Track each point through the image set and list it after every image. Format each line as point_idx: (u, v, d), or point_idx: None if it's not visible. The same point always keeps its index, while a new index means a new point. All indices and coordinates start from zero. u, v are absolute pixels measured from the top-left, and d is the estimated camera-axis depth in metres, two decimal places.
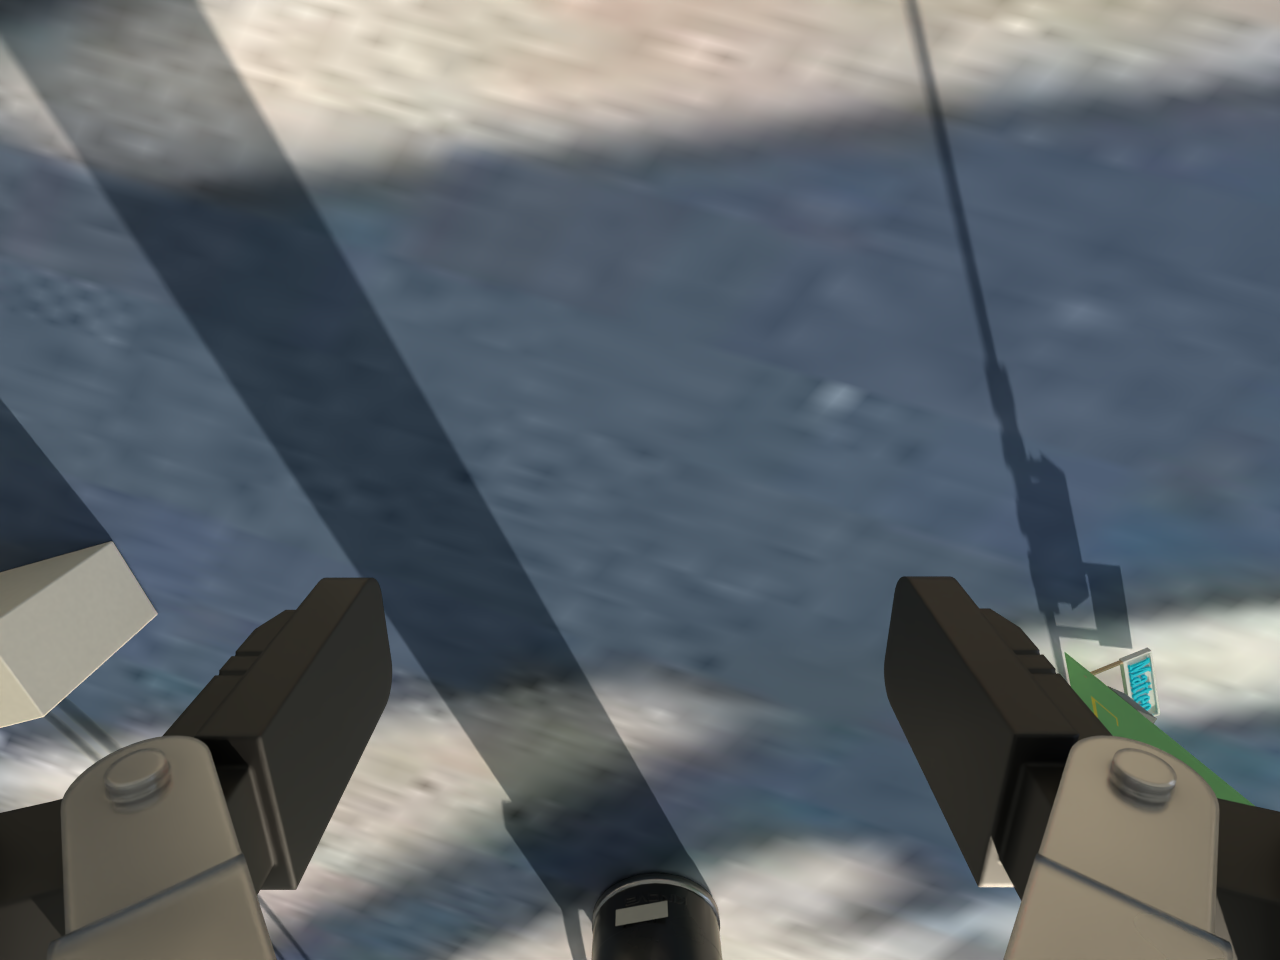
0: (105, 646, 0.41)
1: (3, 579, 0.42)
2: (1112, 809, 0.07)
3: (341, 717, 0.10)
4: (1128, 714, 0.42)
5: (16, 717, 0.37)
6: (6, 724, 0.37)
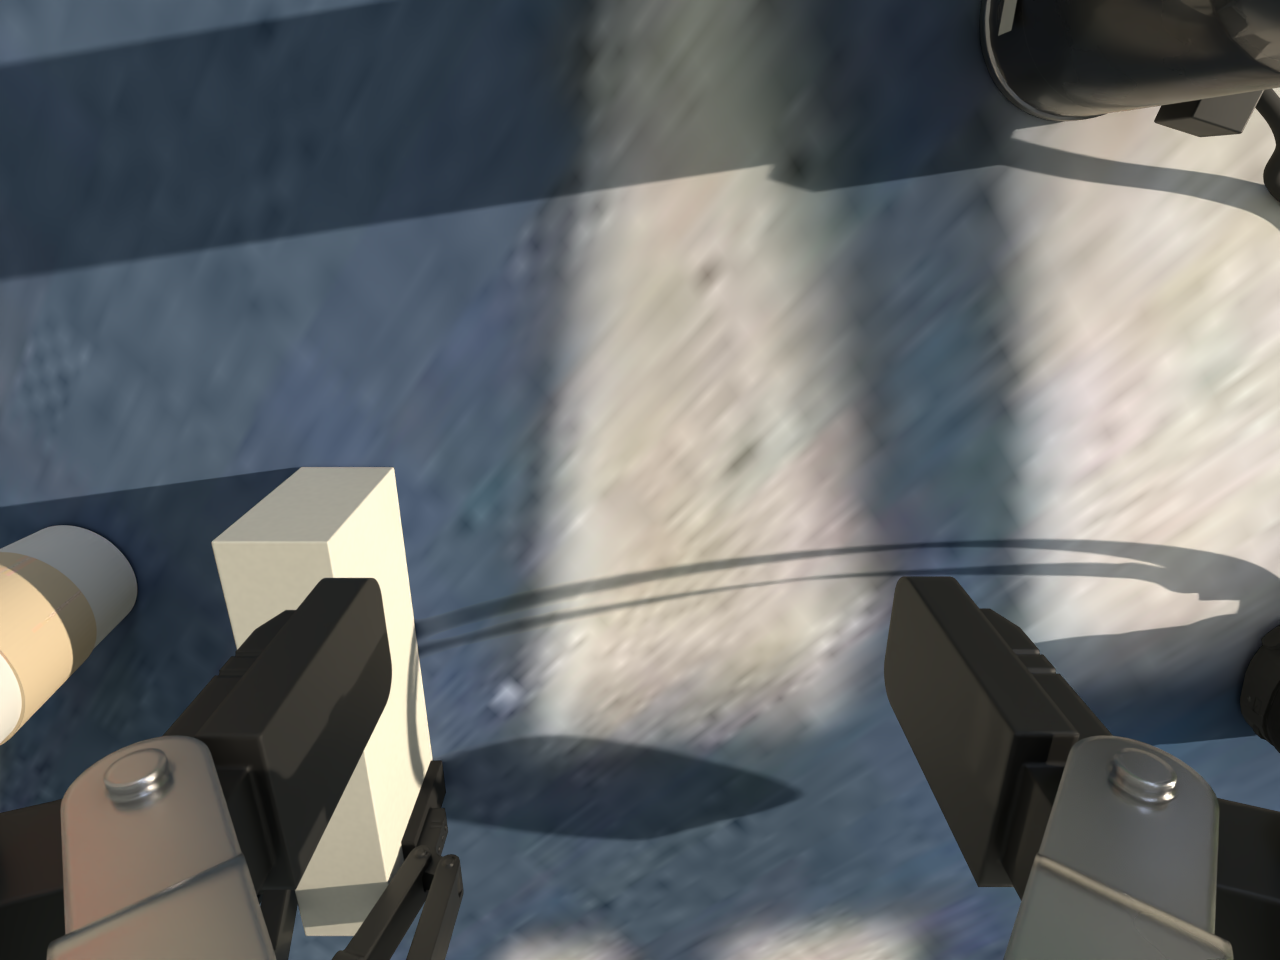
0: (354, 496, 0.38)
1: None
2: (1112, 809, 0.07)
3: (341, 716, 0.10)
4: None
5: (325, 568, 0.33)
6: None
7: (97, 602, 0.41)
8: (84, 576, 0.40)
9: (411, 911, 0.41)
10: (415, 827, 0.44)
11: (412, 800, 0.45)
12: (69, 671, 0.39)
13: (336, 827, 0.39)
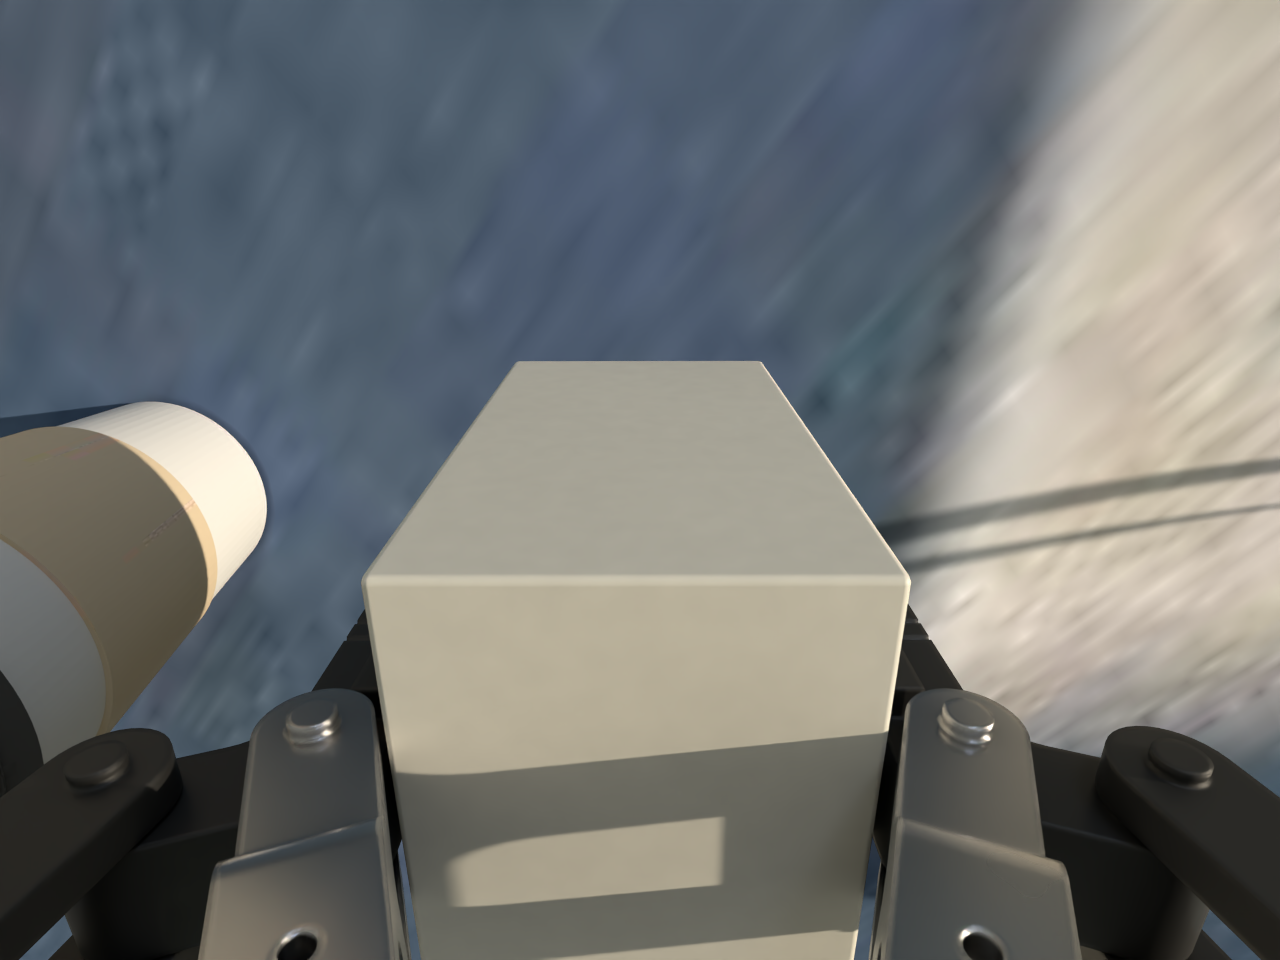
0: (761, 419, 0.12)
1: None
2: (948, 758, 0.07)
3: None
4: None
5: (860, 693, 0.07)
6: (876, 750, 0.08)
7: (218, 525, 0.23)
8: (197, 477, 0.23)
9: None
10: None
11: None
12: (177, 642, 0.22)
13: None
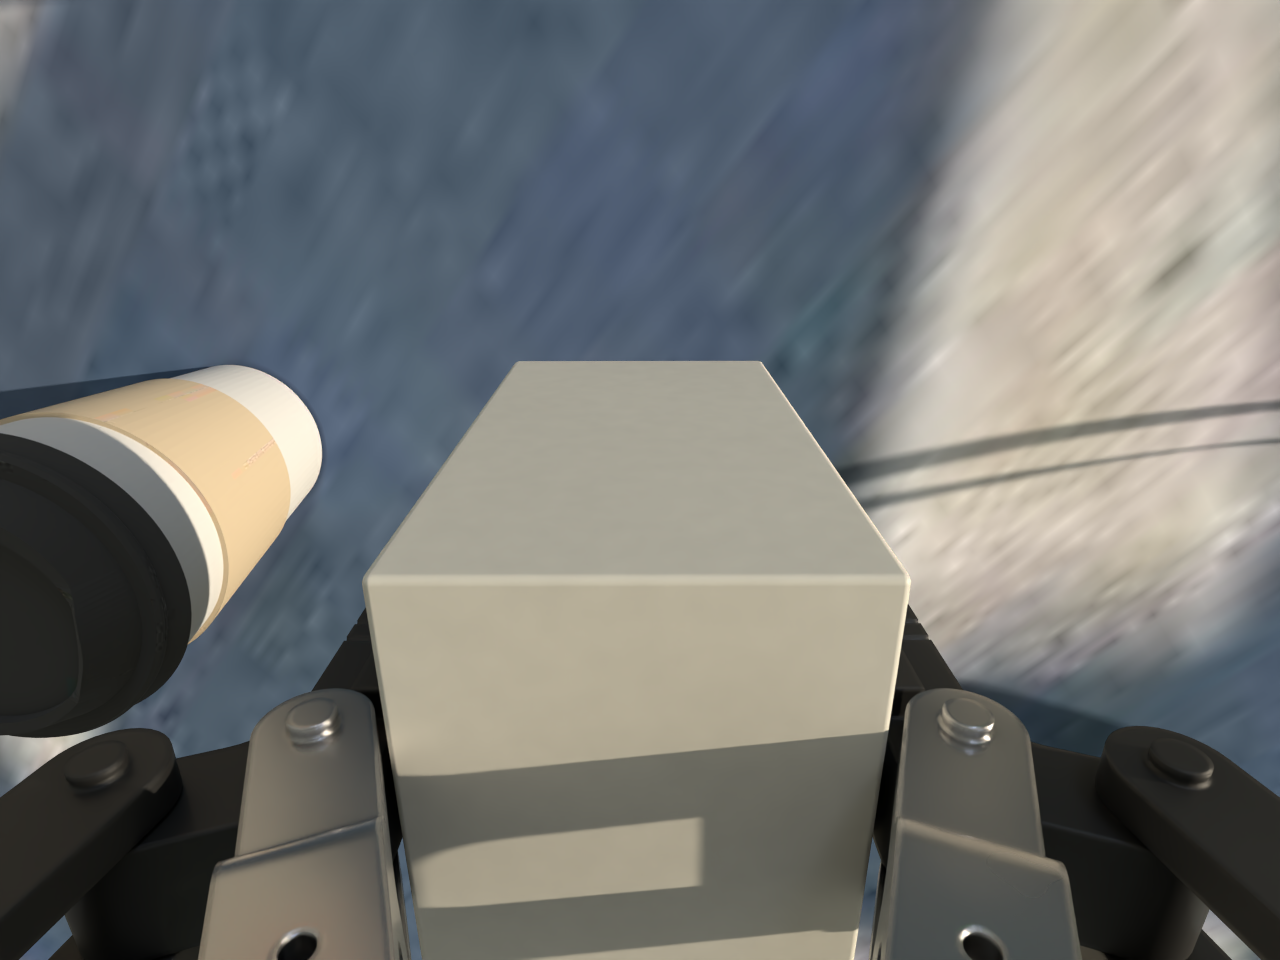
0: (761, 419, 0.12)
1: None
2: (948, 758, 0.07)
3: None
4: None
5: (861, 693, 0.07)
6: (876, 749, 0.08)
7: (290, 462, 0.29)
8: (274, 422, 0.28)
9: None
10: None
11: None
12: (263, 551, 0.27)
13: None
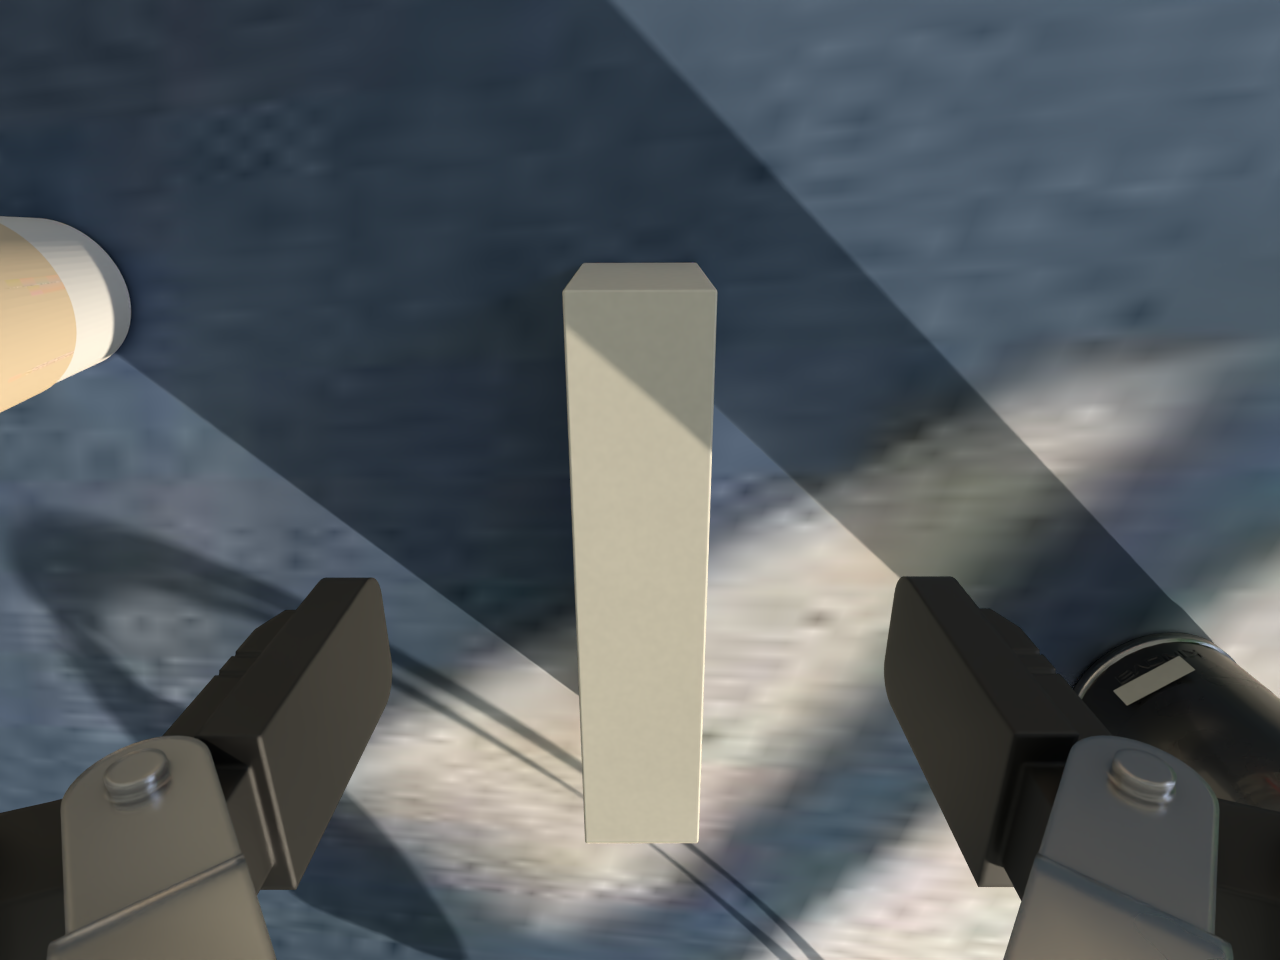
0: (688, 273, 0.30)
1: None
2: (1112, 809, 0.07)
3: (341, 717, 0.10)
4: None
5: (705, 329, 0.25)
6: (711, 349, 0.26)
7: (72, 367, 0.32)
8: (88, 334, 0.31)
9: None
10: None
11: None
12: None
13: (651, 698, 0.31)
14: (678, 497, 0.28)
